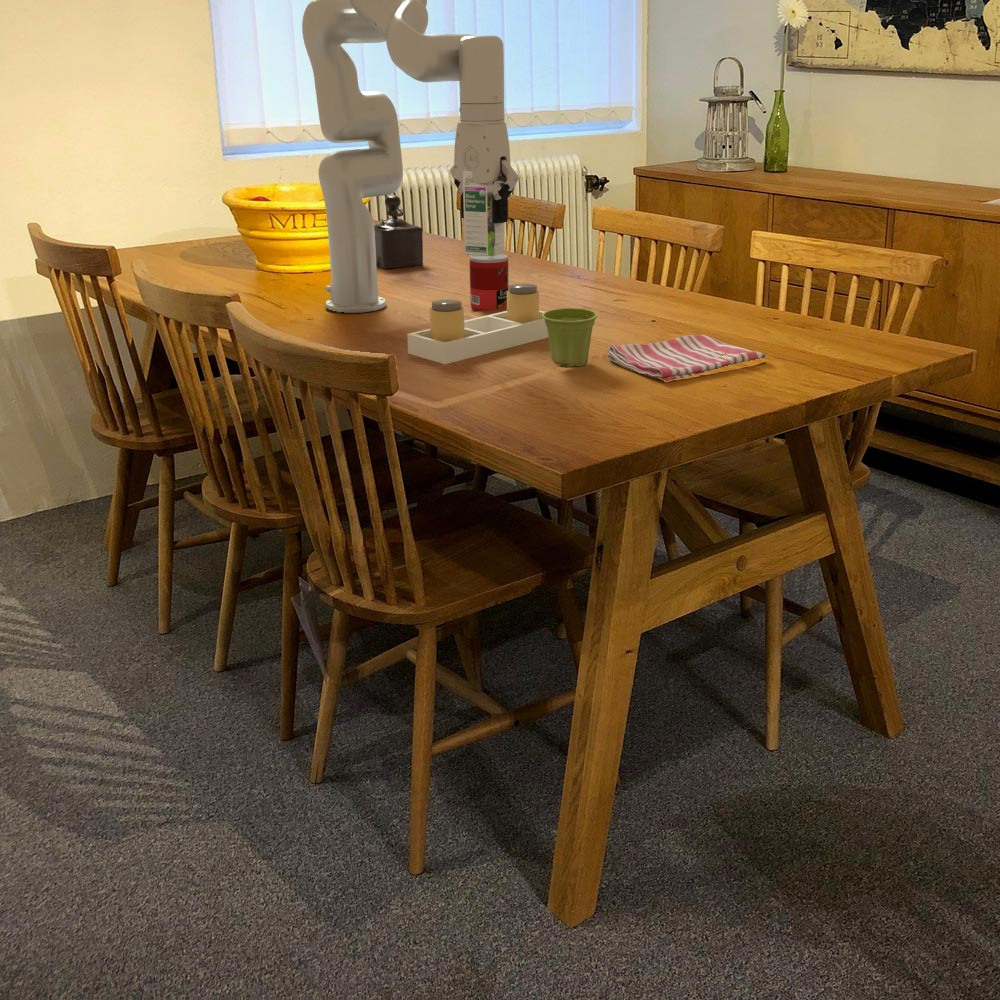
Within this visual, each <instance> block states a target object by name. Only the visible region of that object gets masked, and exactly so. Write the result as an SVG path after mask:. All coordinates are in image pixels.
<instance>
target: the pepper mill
mask: <svg viewBox="0 0 1000 1000" xmlns="http://www.w3.org/2000/svg"><path fill="white" fill-rule="evenodd" d="M401 201H402V200H401V198H400V197H399V196H397V194H389V195H387V196H386V197H385V199H384V205H385V206H386V207H387V211H386V215H387V216H389V217H390V218H389V217H388V218H386V219H385V220H384V219H383V218H381V219H380V220H381V222H380V223H377V224H374V231H375V248H376V266H377V268H381V269H384V270H385V269H386V270H397V269H396V268H399V269H407V267H408V268H415V266H417V267H422V265H423V266H424V262H423V261H424V256H423V255H424V251H423V250H424V247H423V246H424V244H423V243H424V242H423V228H422V227H420V226H417V225H415V224H412V223H409V222H408V221H406V220H405V219H402V218H400V217H402V216H403V217H404V215H405V210H404V209H403V208H402V207H401ZM398 217H399V218H398Z"/></svg>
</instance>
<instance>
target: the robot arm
mask: <svg viewBox="0 0 1000 1000" xmlns="http://www.w3.org/2000/svg"><path fill="white" fill-rule="evenodd" d="M427 5H428V0H312V1H310V2H309V3H308V4H307V5H306V8H305V9H304V12H303V15H302V23H301V24H302V25H301V29H302V30H301V31H302V38H303V39H302V40H303V42H304V43H303V44H304V46H305V47H304V48H305V49H306V54H307V56H308V59H309V62H310V65H311V69H312V73H313V78H314V80H313V82H314V88H315V96H316V103H317V110H318V120H319V126H320V129H321V132H322V135H323V137H324V139H326V141H328V142H330V143H333V144H351V143H363V142H367V144H368V148H362V149H360V148H358V149H357V148H356V149H347V150H345V149H344V150H339V151H334V152H331V153H329V154H327V155H326V156H324V157H323V159H322V160H321V162H320V163H319V166H318V180H319V184H320V188H321V192H322V196H323V200H324V207H325V214H326V225H327V226H326V227H327V235H328V250H329V264H330V265H329V266H330V267H329V268H330V279H331V283H330V284H329V285H326V286H325V289H324V290H325V291H326V292H327V293H330V299H327V300H326V301H325V308H326V309H327V308H328V309H330V310H333V311H332V312H334V311H337V312H336V313H341V312H344V313H345V314H352V313H353V314H358V313H359V314H360V313H368V312H369V313H370V312H375V311H378V310H381V309H383V308H385V307H386V306H387V301H386V299H385V298H383V297H381V296H379V292H378V289H379V288H378V287H379V285H378V272H377V270H378V267H377V266H376V248H375V231H374V225H375V221H374V218H373V215H372V214H371V211H370V210H369V209H368V207H367V206H366V204H365V202H364V201H363V199H366V198H373V197H380V196H382V197H383V196H389V195H394V194H395V193H396V192H397V191H398V190H400V188H401V185H402V183H403V180H404V179H403V177H404V168H403V156H402V155H403V154H402V147H401V137H400V127H399V120H398V114H397V110H396V108H395V105H394V103H393V101H392V100H391V98H389V97H388V95H386V94H385V93H383V92H381V91H372V90H370V91H361V90H360V86H359V85H360V84H359V81H358V79H359V78H358V71H357V68H356V65H355V62H354V61H353V59H352V58H351V56H350V54H349V53H348V52H347V51H346V50H345V48H344V47H343V46H342V45H343V44H377V43H384V42H386V49H387V51H388V54H389V57H390V59H391V61H392V62H393V64H394V65H395V66H396V68H398V69H399V70H401V71H402V72H403V73H404V74H406V75H407V76H408V77H410V78H412V79H413V80H415V81H418V82H421V83H440V82H459V109H458V110H459V117H460V119H459V120H460V121H458V122H457V125H456V130H455V136H454V137H455V139H454V154H453V155H454V156H453V157H454V158H453V165H452V167H451V168H449V173H450V174H451V177H452V179H453V180H454V181H453V183H454V185H455V186H456V188H457V194H458V195H460V217H461V219H463V220H464V203H463V171H464V170H467V171H471V172H472V176H473V182H474V183H477V184H480V185H490V184H492V192H493V195H494V197H495V200H492V222H493V223H495V224H497V223H503V222H504V223H507V222H508V221H509V199H511V196H512V195H511V194H513V191H515V187H516V185H517V183H518V181H519V178H520V177H519V175H518V173H517V172H516V171H515V169H514V168H513V167H512V166H511V150H510V141H509V139H510V138H509V133H508V128H507V122H505V117H506V116H505V63H504V62H505V57H504V56H505V54H504V53H505V52H504V51H505V49H504V42H503V40H502V38H501V37H499V36H497V35H474V34H469V33H468V34H466V33H465V34H464V33H463V34H462V33H458V34H457V33H456V34H455V33H454V34H451V33H445V34H440V33H439V34H437V33H436V34H425V33H426V30H427V28H428V24H429V12H428V9H427ZM497 179H498V180H497ZM498 186H500V187H501V189H500V191H499V188H498ZM328 309H327V310H328ZM330 310H329V311H330Z"/></svg>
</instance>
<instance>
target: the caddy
mask: <svg viewBox="0 0 1000 1000" xmlns="http://www.w3.org/2000/svg"><path fill="white" fill-rule="evenodd" d="M544 312H545V311H543V310H539V320H535V321H531V322H527V323H519V322H514V321H510V320H507V310H504V311H501V312H500V311H499V312H496V313H492V314H488V315H483V316H479V317H474V318H471V319H470V318H469V319H466V320H465V319H464V331H465V338H461V339H457V340H453V341H449V342H441V341H438V340H434V339H431V332H430V328H427V329H423V330H418V331H415V332H410V333H407V334H406V336H407V354H408V355H413V356H416V357H420V358H422V359H425V360H428V361H432V362H436V363H439V364H442V365H447V364H448V365H449V364H452V363H456V362H459V361H463V360H467V359H471V358H474V357H478V356H482V355H487V354H491V353H494V352H498V351H501V350H502V351H503V350H506V349H509V348H513V347H517V346H520V345H524V344H525V345H526V344H528V343H532V342H537V341H540V340H544V339H549V336H548V330H547V326H546V324H545V319H544V318H543V317H542V314H543V313H544Z"/></svg>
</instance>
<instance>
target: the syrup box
mask: <svg viewBox="0 0 1000 1000" xmlns="http://www.w3.org/2000/svg"><path fill="white" fill-rule="evenodd" d="M497 180H498V179H497ZM498 188H499V191H500V189H501V187H500V186H498ZM492 200H495V197H494V195H493V192H492V184H490V185H480V184H477V183H474V182H473V176H472V172H471V171H467V170H464V171H463V203H464V219H463V234H464V236H463V238H464V239H463V243H464V244H463V249H464V250H463V251H464V254H463V255H465V256H471V255H478V256H491V257H493V256H495V255H498V254H502V253H503V252H505V244H506V243H505V242H506V241H505V222H503V223H497V224H495V223H493V222H492Z"/></svg>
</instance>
